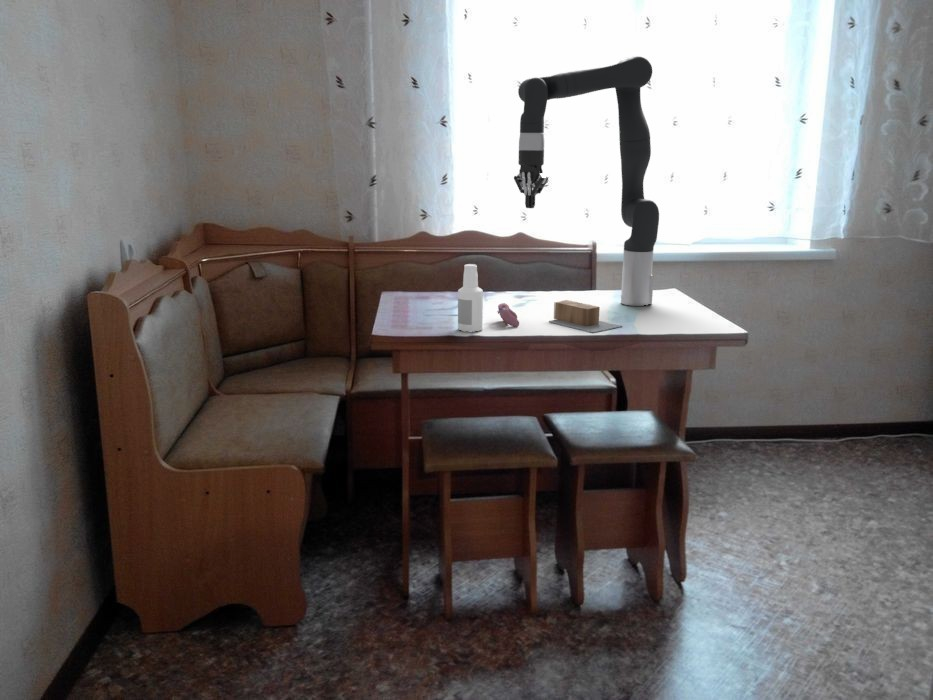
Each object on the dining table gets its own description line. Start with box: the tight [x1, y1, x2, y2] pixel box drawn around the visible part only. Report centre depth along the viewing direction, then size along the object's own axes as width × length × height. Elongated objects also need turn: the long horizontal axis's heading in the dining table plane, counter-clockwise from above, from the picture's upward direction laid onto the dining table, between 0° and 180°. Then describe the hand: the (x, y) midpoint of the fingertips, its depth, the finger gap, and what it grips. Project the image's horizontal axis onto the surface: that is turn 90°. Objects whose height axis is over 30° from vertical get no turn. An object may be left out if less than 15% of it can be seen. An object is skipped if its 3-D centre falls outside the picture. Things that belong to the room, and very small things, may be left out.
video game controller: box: [496, 302, 520, 328], centre depth 226 cm, size 10×5×7 cm, turn 0°
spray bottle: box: [457, 263, 484, 332], centre depth 217 cm, size 7×7×18 cm
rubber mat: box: [548, 319, 623, 333], centre depth 226 cm, size 17×12×1 cm
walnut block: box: [553, 299, 601, 327], centre depth 228 cm, size 5×5×13 cm
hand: (529, 208), depth 239 cm, fingers closed
